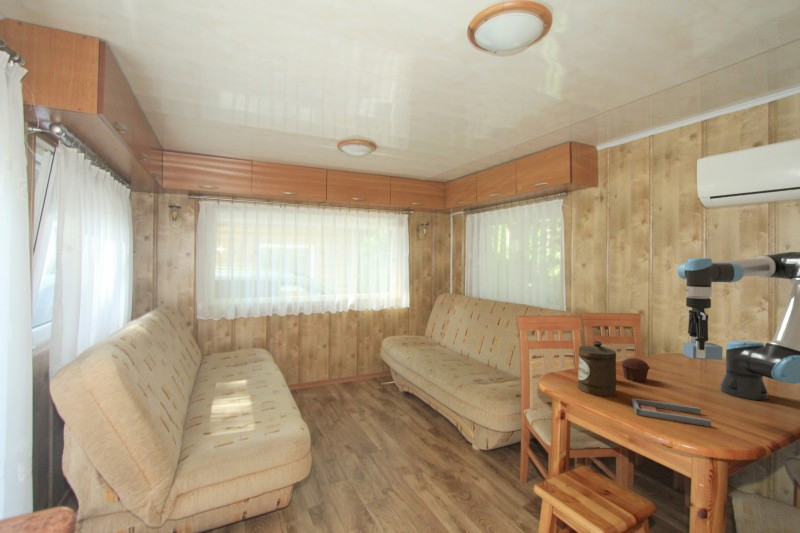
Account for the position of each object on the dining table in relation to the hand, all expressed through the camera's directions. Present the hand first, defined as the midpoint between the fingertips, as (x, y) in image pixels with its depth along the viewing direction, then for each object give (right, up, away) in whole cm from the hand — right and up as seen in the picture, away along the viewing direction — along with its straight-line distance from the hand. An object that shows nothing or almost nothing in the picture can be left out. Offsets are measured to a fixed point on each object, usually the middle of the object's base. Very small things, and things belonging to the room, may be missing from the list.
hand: (697, 355), depth 141 cm
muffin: (-2, -20, +34) cm, 40 cm away
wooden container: (-29, -21, +19) cm, 41 cm away
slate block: (+2, -1, 0) cm, 2 cm away
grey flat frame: (-15, -21, -5) cm, 27 cm away
